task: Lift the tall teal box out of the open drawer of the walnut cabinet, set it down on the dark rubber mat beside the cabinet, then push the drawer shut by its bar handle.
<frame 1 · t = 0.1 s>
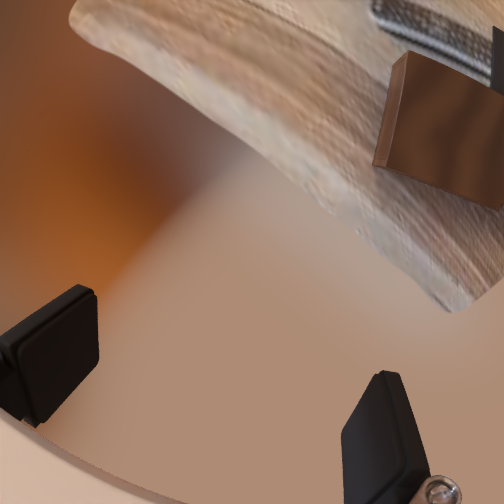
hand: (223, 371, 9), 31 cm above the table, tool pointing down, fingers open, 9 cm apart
cabinet: (438, 133, 33), on the table
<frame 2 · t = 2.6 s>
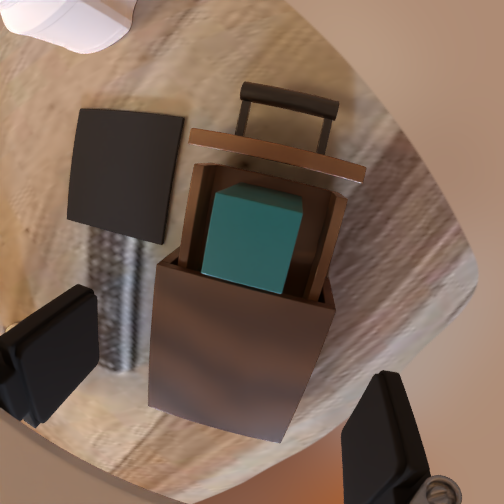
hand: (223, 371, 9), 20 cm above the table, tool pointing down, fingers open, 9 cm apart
drawer: (265, 211, 24), point 3 cm above the table, slide at 9.0 cm, touching box
jar: (103, 8, 24), on the table
mat: (117, 171, 29), on the table
box: (264, 218, 26), point 2 cm above the table, touching drawer
cabinet: (239, 331, 31), on the table
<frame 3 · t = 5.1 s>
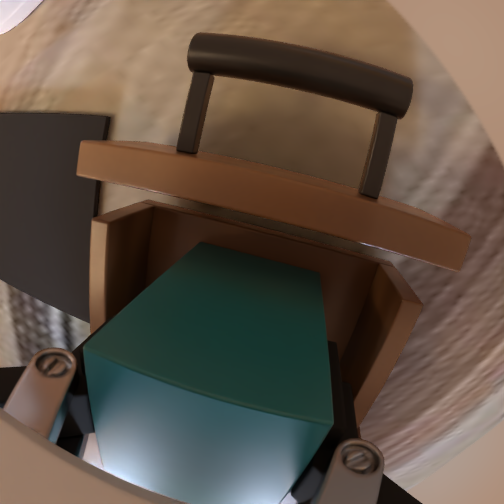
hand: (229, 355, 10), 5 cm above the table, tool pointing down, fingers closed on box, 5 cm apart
drawer: (245, 306, 12), point 3 cm above the table, slide at 9.0 cm, touching box
mat: (27, 208, 16), on the table
box: (246, 310, 14), point 2 cm above the table, touching drawer, gripper
cabinet: (215, 440, 19), on the table
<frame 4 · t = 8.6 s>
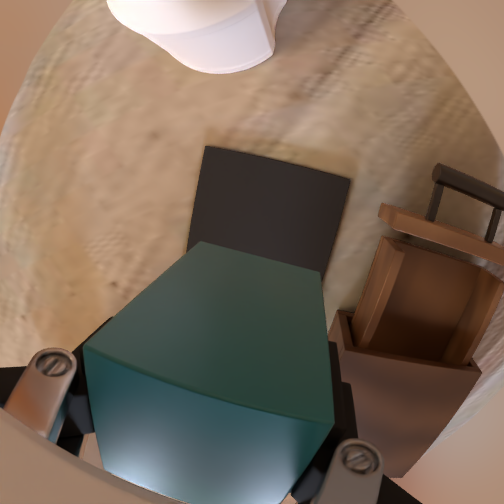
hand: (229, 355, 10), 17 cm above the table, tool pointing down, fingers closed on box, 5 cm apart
drawer: (435, 289, 22), point 3 cm above the table, slide at 9.0 cm
jar: (226, 17, 22), on the table
mat: (261, 231, 27), on the table
box: (246, 310, 14), point 14 cm above the table, touching gripper
cabinet: (372, 386, 30), on the table
when the fingers open (4 cm above the table, at t = 12.0 s): box stays where it is, resting on mat.
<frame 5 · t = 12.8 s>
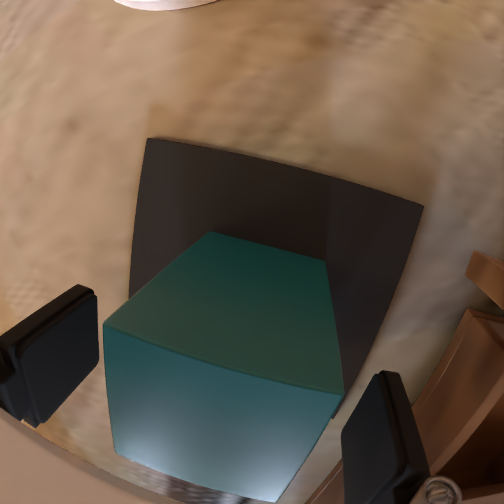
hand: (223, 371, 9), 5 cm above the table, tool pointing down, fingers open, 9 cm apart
mat: (253, 297, 14), on the table
box: (253, 298, 14), resting on mat
cabinet: (404, 483, 17), on the table
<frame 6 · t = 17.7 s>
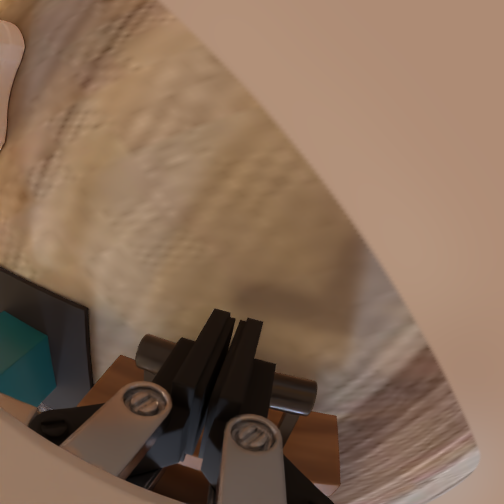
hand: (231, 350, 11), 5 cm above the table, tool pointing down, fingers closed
drawer: (202, 471, 15), point 3 cm above the table, slide at 8.4 cm, touching gripper
mat: (31, 348, 19), on the table
box: (29, 349, 19), resting on mat
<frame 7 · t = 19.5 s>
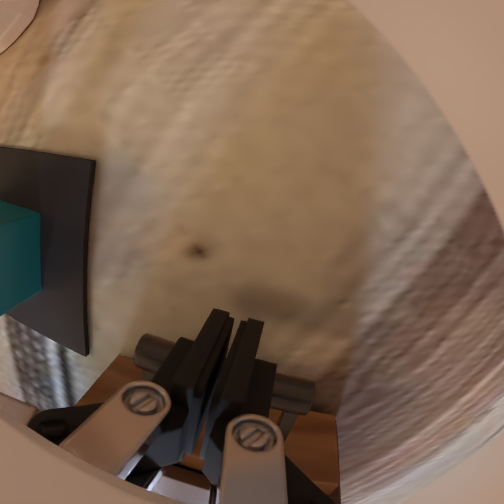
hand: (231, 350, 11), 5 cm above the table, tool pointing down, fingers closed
drawer: (201, 471, 15), point 3 cm above the table, slide at 0.0 cm, touching cabinet, gripper
mat: (19, 243, 16), on the table
box: (16, 243, 16), resting on mat
cabinet: (206, 462, 19), on the table
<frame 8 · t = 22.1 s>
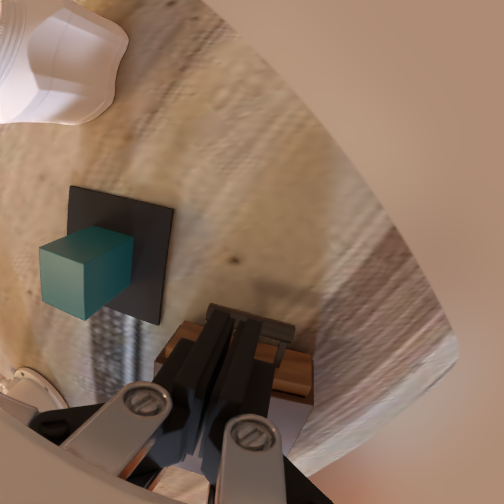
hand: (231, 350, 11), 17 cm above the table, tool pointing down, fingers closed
drawer: (232, 393, 28), point 3 cm above the table, slide at 0.0 cm, touching cabinet
jar: (85, 71, 25), on the table
mat: (112, 254, 30), on the table
box: (111, 254, 29), resting on mat
cabinet: (231, 397, 33), on the table
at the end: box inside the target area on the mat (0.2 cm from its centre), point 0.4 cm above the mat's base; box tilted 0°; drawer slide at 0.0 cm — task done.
